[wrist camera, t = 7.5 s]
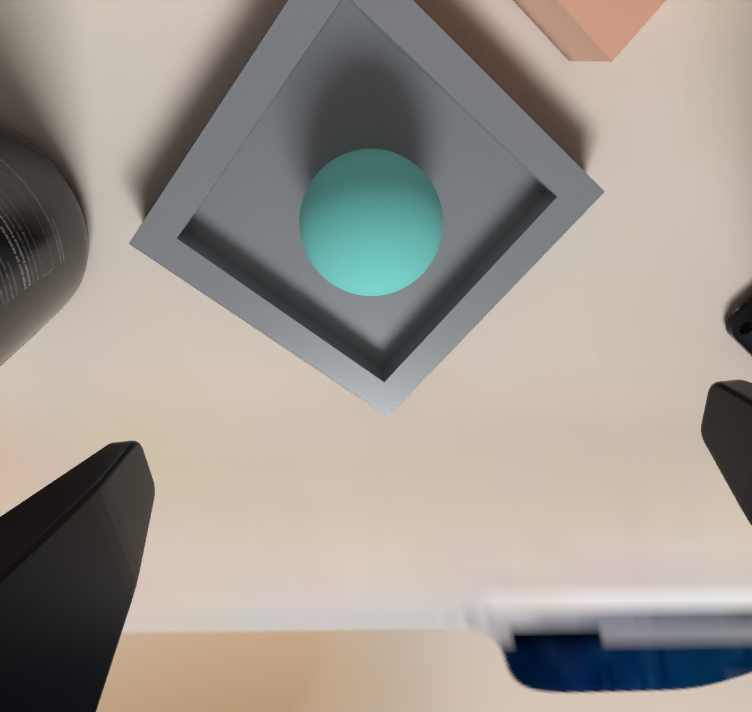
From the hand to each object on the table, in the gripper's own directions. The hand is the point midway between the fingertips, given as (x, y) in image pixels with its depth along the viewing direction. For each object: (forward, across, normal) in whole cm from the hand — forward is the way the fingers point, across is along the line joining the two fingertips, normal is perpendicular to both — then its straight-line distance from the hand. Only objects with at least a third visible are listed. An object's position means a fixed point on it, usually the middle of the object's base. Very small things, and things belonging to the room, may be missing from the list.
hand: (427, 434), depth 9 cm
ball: (+9, 0, -1) cm, 9 cm away
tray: (+11, 0, -1) cm, 11 cm away
